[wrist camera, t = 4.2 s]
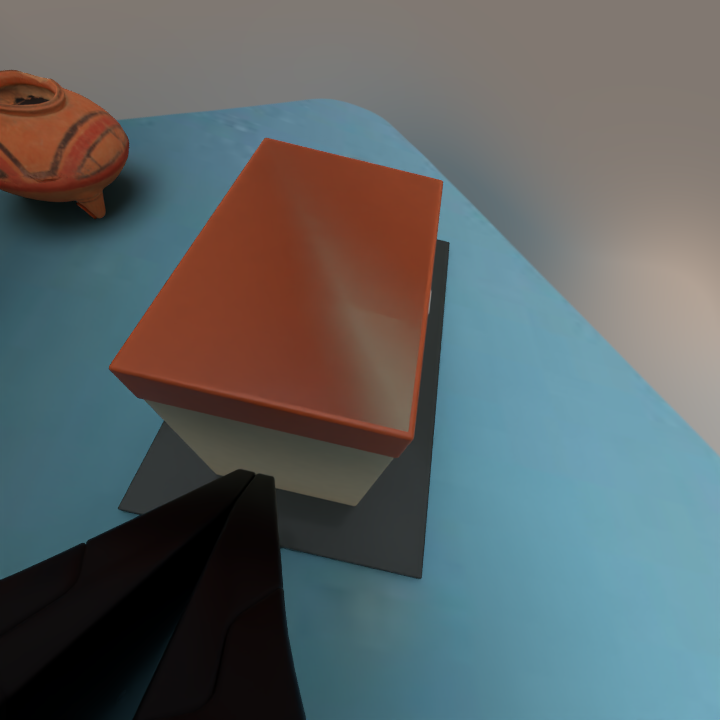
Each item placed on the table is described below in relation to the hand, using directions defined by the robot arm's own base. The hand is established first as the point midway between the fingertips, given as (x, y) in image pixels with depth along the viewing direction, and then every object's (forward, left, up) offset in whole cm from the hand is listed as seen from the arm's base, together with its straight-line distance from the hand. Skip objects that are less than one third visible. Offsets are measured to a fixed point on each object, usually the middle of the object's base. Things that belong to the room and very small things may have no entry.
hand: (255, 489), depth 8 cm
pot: (+20, +13, -7) cm, 25 cm away
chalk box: (+5, -2, -7) cm, 9 cm away
